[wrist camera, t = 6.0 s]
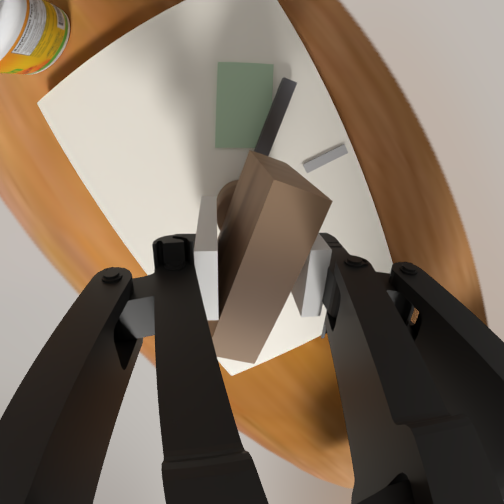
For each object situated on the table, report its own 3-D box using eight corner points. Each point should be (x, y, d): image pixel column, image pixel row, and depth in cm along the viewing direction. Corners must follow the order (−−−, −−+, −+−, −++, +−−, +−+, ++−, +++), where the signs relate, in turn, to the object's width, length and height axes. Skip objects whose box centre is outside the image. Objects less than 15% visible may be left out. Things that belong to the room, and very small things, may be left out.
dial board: (389, 280, 26) (401, 293, 24) (230, 360, 28) (231, 377, 26) (253, -19, 15) (257, -31, 13) (50, 102, 17) (35, 103, 15)
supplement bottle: (3, 68, 15) (-85, 68, 6) (32, 4, 13) (-46, -25, 4) (52, 81, 16) (-37, 79, 7) (84, 13, 14) (11, -30, 6)
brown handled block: (244, 258, 21) (266, 365, 12) (200, 246, 20) (193, 351, 12) (310, 90, 17) (396, 81, 8) (263, 71, 16) (312, 36, 7)
